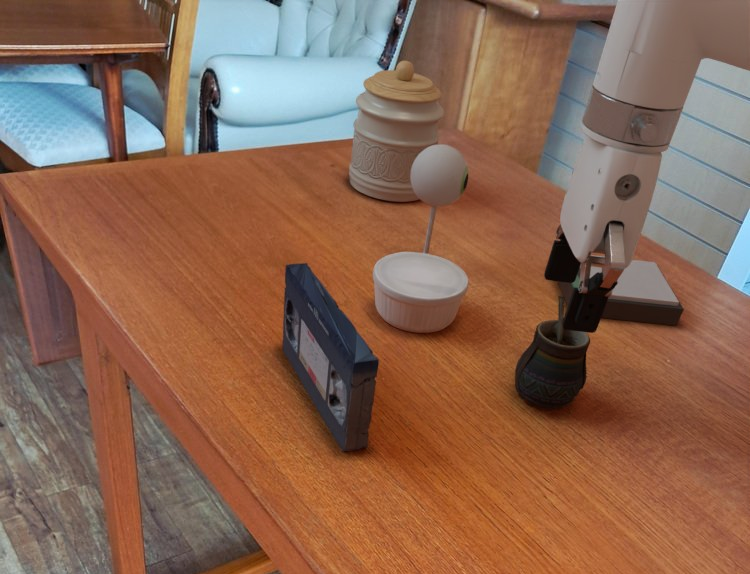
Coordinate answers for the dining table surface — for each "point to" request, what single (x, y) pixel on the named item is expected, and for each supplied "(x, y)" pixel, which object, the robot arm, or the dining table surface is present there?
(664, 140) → the robot arm
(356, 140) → the jar
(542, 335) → the mate gourd
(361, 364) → the vhs cassette tape
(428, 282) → the ramekin
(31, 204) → the dining table surface
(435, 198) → the lollipop
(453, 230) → the dining table surface
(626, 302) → the scale
